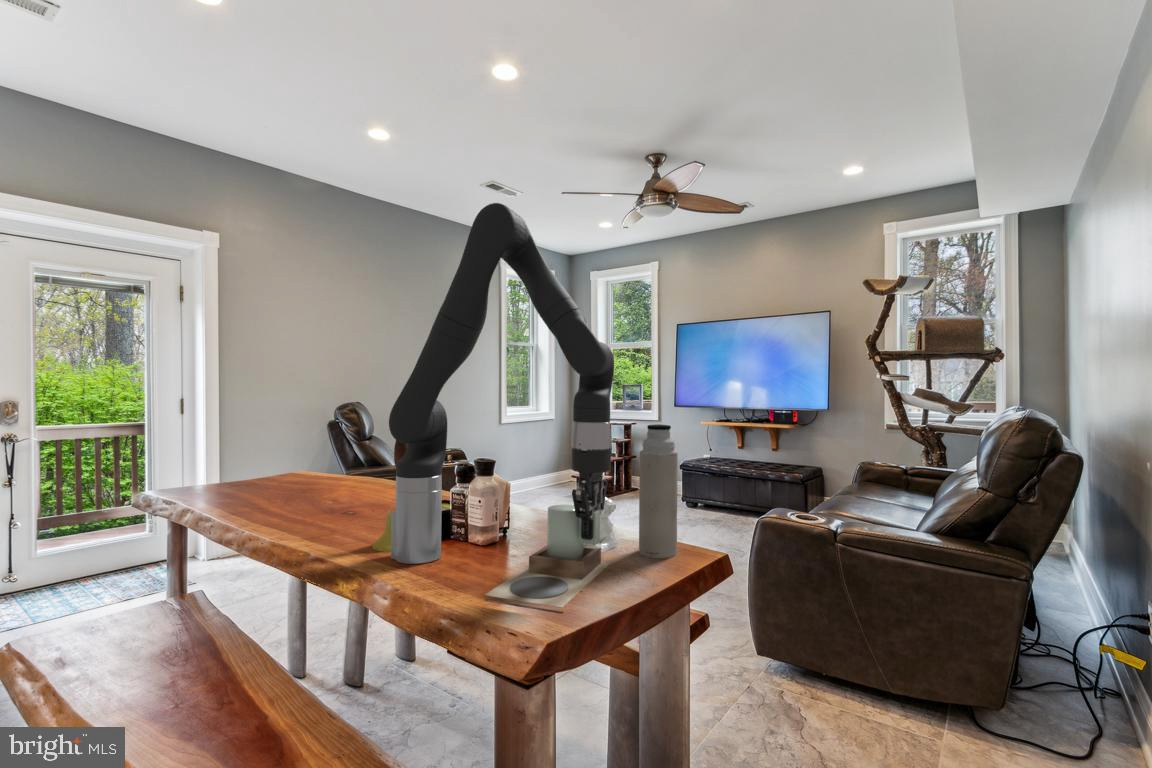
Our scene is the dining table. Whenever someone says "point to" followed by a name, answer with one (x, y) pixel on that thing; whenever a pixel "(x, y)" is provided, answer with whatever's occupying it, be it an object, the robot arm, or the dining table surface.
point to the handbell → (385, 539)
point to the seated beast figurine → (606, 528)
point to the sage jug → (568, 533)
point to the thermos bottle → (658, 494)
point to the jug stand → (550, 579)
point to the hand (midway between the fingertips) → (589, 536)
